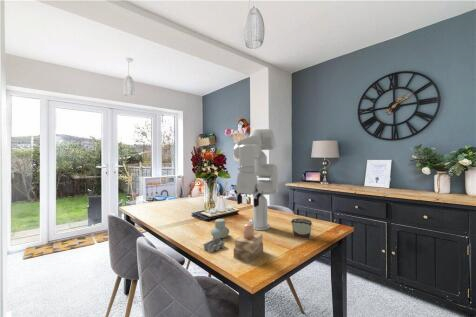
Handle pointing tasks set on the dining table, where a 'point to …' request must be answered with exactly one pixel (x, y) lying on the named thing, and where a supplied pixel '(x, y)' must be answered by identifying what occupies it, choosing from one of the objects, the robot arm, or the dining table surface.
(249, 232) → the pink rounded capsule
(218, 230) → the air freshener
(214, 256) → the dining table surface
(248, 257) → the tower base
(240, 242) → the tower top
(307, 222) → the food container
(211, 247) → the egg carton
